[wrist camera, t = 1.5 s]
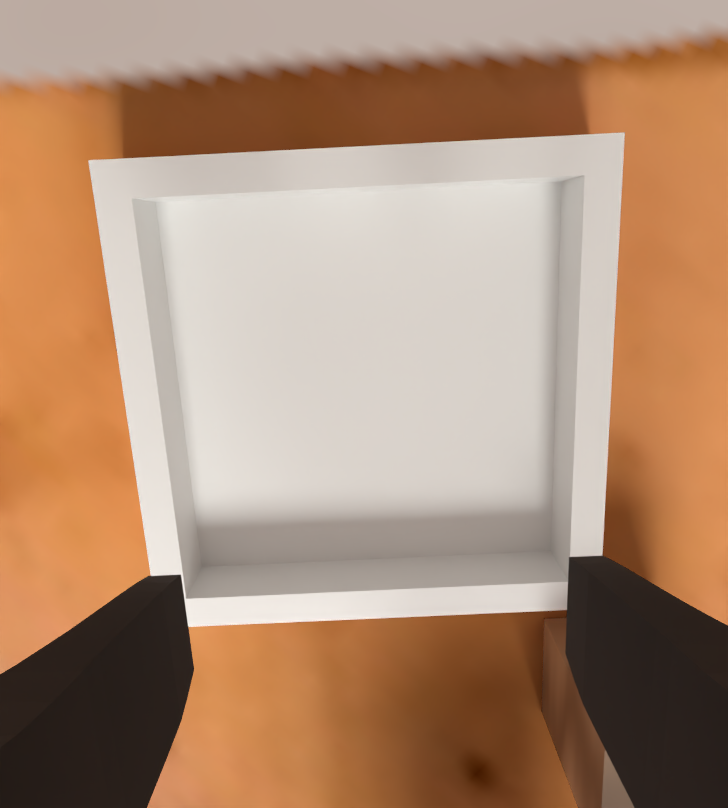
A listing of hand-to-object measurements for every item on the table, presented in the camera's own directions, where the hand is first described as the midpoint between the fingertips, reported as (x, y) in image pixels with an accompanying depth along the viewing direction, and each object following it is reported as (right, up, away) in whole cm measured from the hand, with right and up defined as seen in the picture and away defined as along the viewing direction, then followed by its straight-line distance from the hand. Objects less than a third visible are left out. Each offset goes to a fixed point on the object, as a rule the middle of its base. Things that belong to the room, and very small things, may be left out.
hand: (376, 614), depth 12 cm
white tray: (0, +4, +9) cm, 10 cm away
